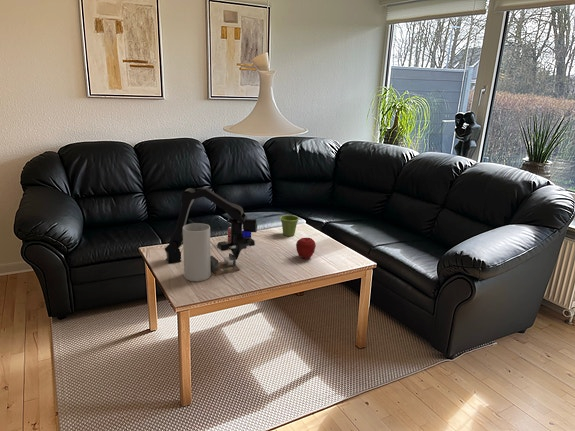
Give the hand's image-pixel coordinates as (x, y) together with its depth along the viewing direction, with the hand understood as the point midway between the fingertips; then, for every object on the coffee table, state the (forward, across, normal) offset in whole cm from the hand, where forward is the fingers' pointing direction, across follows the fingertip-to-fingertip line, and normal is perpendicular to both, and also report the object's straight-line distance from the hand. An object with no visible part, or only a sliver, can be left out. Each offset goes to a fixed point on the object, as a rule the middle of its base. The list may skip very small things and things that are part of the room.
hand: (235, 259), depth 219 cm
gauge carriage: (+2, -4, -2) cm, 5 cm away
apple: (+3, +38, -7) cm, 39 cm away
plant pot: (+3, +51, +29) cm, 58 cm away
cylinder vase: (+4, -22, -4) cm, 23 cm away
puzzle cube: (+4, +16, +28) cm, 32 cm away
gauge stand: (+3, -8, -1) cm, 9 cm away
